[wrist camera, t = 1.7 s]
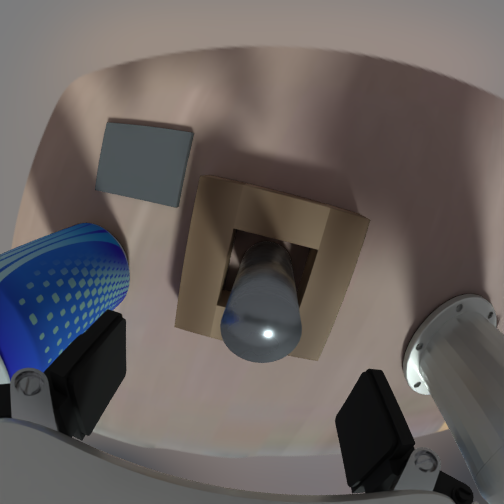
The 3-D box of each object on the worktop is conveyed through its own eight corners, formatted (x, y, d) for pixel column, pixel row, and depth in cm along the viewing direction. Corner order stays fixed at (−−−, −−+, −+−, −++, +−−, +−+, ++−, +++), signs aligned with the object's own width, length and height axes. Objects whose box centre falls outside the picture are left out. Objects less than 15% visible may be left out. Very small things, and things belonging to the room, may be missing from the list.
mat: (194, 133, 21) (191, 132, 20) (178, 206, 22) (176, 207, 22) (110, 123, 21) (106, 122, 20) (98, 189, 23) (95, 189, 22)
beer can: (67, 213, 23) (-68, 263, 8) (139, 229, 23) (-7, 310, 8) (68, 291, 26) (-36, 370, 10) (134, 313, 26) (37, 429, 10)
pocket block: (358, 213, 22) (370, 219, 19) (313, 341, 25) (317, 360, 22) (209, 174, 22) (200, 175, 19) (184, 310, 25) (174, 327, 22)
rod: (297, 248, 23) (312, 304, 13) (284, 293, 24) (288, 369, 14) (248, 235, 23) (229, 284, 13) (237, 281, 24) (214, 352, 14)
